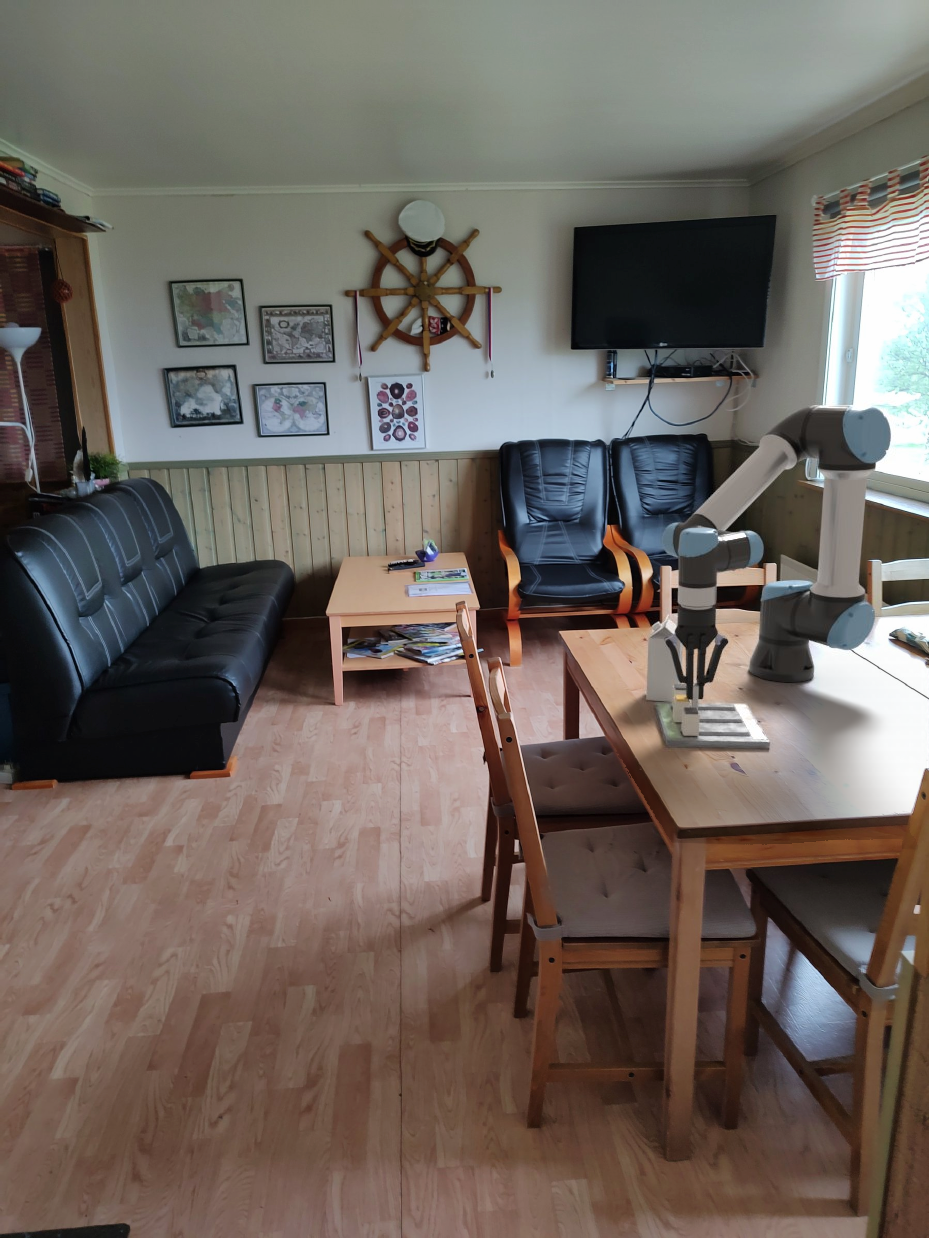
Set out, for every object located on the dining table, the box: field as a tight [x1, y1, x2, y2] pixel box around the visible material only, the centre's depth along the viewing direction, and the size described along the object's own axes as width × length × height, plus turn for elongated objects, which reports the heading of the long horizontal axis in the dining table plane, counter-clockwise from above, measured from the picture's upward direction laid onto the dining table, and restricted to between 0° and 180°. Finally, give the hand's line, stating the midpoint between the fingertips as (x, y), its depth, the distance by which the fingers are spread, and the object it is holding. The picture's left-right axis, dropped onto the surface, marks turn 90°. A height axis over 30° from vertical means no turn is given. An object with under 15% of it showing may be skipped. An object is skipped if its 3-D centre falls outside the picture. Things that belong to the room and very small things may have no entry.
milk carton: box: [645, 613, 684, 702], centre depth 196 cm, size 7×7×19 cm
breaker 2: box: [681, 707, 700, 736], centre depth 173 cm, size 3×3×5 cm
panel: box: [654, 701, 771, 750], centre depth 180 cm, size 20×21×2 cm
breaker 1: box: [672, 683, 686, 707], centre depth 186 cm, size 3×3×5 cm
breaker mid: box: [672, 695, 691, 722], centre depth 180 cm, size 3×3×5 cm
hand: (694, 713), depth 179 cm, fingers closed
